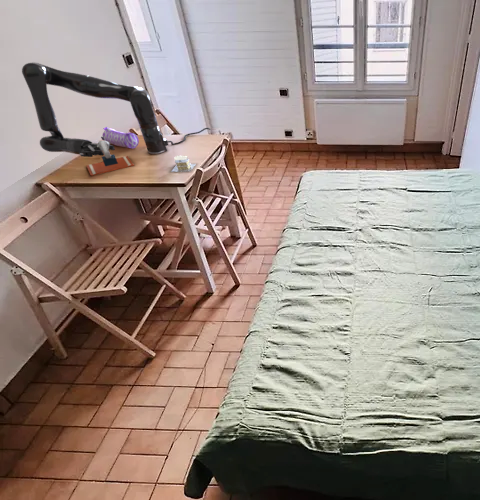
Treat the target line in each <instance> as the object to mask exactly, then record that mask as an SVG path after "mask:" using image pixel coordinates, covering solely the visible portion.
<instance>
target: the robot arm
mask: <svg viewBox="0 0 480 500" xmlns="http://www.w3.org/2000/svg"><path fill="white" fill-rule="evenodd" d="M21 74H22V76H23V78H24V80H25V82H26V85H27V87H28V89H29V92H30V95H31V98H32V100H33V104H34V108H35V113H36V116H37V121H38V124H39V128H40V130H41V131H44V132H48V133H50V135H47V136H43V137H41V138H40V139H39V145H40V148H42V149H43V150H44V151H46V152H48V153H49V152H50V153H69V154H74V155H80V157H86V158H93V157H95V156H96V157H97V156H101V157H103V156H105V154H104V152H103V150H101V149H100V148H99V147H97V144H98V142H100V141H101V140H99V141H98V142H92V141H91V140H89V139H84V138H75V137H73V138H72V137H64V135H63V134H62V131H61V129H60V128H59V126H58V121H57V116H56V113H55V111H54V108H53V105H52V102H51V101H50V97H49V93H48V87H47V85H49V86H55V87H61V88H64V89H67V90H70V91H72V92H75V93H78V94H81V95H84V96H89V97H92V98H96V99H113V100H114V99H115V100H121V101H125V102H129V103H130V106H131V108H132V112H133V114H134V117H135V118H136V121H137V124H138V126H139V129H140V133H141V135H142V138H143V141H144V144H145V147H146V151H147V153H148V154H149V155H160V154H163V153H165V152H168V148H167V146H169V143H170V144H171V146H176V145H179V144H181V143H184V142H185V141H186V139H187V137H188V136H191V135H197V134H200V133H202V132H204V131H206V130H209V131H211V128H209V127H204V128H203V129H201V130H199V131H196V132H190V133H187V134H185V135H184V136H183V139H182V140H180V141H178V142H175V143H174V142H173V141H172V140H167V139H166V137H164V136H163V134H162V133H161V128H160V126H159V123H158V120H157V116H156V114H155V112H154V108H153V106H152V102H151V96H150V94H149V92H148V91H147V90H145V89H144V88H142V87H138V86H131V85H126V84H125V85H124V84H119V83H116V82H113V81H109V80H105V79H102V78H98V77H95V76H92V75H87V74H83V73H78V72H77V73H76V72H70V71H64V70H60V69H57V68H54V67H51V66H48V65H45V64H42V63H39V62H34V61H33V62H28V63H25V64H24V65H23V66H22V67H21ZM109 145H110V146H109V149H108V150H109V151H115V150H116V148H115V145H114V144H110V143H109Z"/></svg>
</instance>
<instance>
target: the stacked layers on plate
mask: <svg viewBox="0 0 480 500" xmlns="http://www.w3.org/2000/svg"><path fill="white" fill-rule="evenodd" d="M173 160H174V163H175V166H174V167H173V168H172V169H171V171H170V172H171V173H178V172H179V173H180V172H192V170H193V169H194V167H195V166H196V163H191V162H190V158H189V155H180V154H179V155H176V156H174V158H173Z"/></svg>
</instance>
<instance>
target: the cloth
mask: <svg viewBox="0 0 480 500" xmlns="http://www.w3.org/2000/svg"><path fill="white" fill-rule="evenodd" d="M129 157H130V156H128V155H125V156H122V157H121V156H120V157H117V158H116V160H117V162H118V164H114V165H109V166H105V164H104V162H103V161H100V162H96V163H92V164H87V165H86V168H87V170H88V172H89V175H90V177H93V176H97V175H101V174H105V173H109V172H113V171H117V170H121V169H125V168H130V167H134V166H135V165H134V163H133V162H132V160H131V159H130V158H129Z"/></svg>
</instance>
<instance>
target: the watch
mask: <svg viewBox="0 0 480 500" xmlns="http://www.w3.org/2000/svg"><path fill="white" fill-rule="evenodd" d="M99 141H100V142H99ZM99 141H98V142H97V143H98V144H97V147H99V148H100V149H101V150H103V153H104V155H103V156H101V160H102V162H104V164H105V166H109V165H114V164H118V162H117V160H116V159H117V158H116V155H115V154H114V153H113V154H111V153H110V150H108V149H109V146H110V145H111V144H110V145H109V142H107V141H105V140H99Z"/></svg>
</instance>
